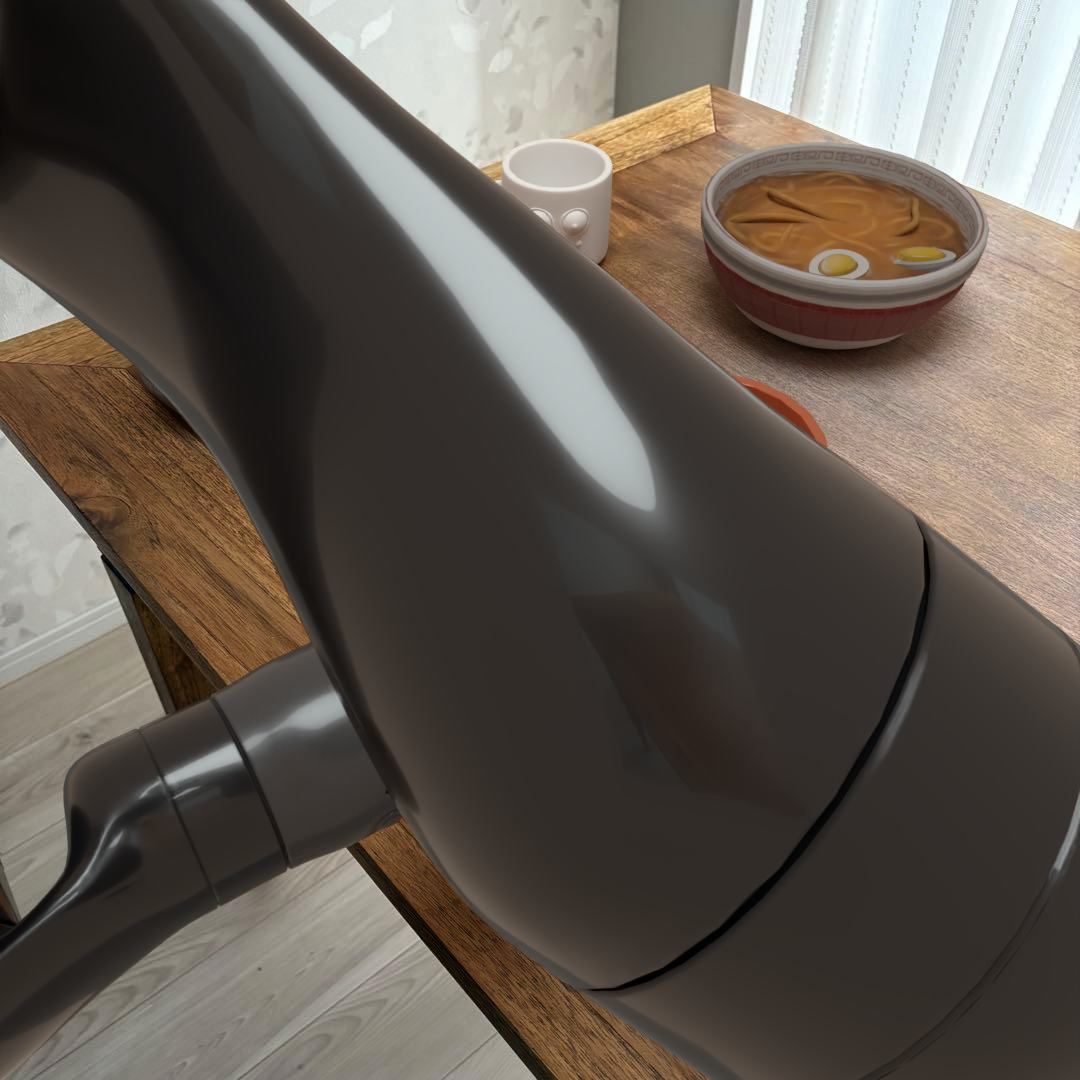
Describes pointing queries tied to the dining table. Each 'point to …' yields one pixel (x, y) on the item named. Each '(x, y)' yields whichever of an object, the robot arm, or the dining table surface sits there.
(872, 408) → the dining table surface
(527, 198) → the mug
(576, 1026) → the dining table surface
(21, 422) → the dining table surface
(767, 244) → the bowl
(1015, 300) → the dining table surface
